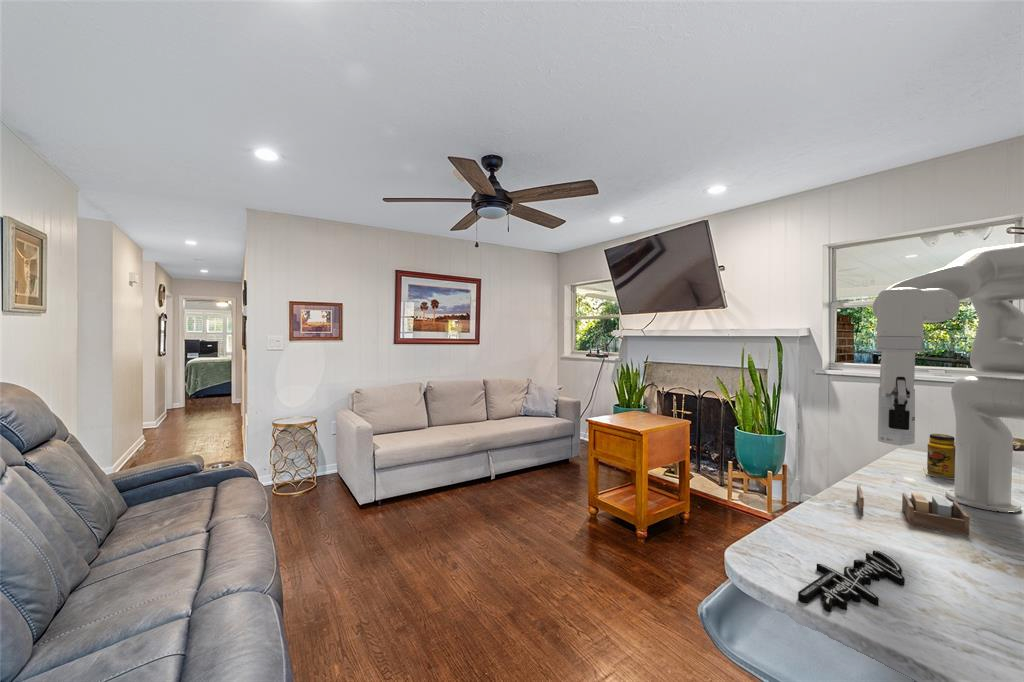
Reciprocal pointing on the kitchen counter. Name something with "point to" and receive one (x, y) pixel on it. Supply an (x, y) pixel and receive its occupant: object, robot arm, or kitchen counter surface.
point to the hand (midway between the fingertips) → (896, 425)
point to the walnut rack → (929, 516)
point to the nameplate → (852, 581)
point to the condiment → (941, 456)
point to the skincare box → (895, 435)
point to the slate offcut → (940, 507)
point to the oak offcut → (919, 503)
